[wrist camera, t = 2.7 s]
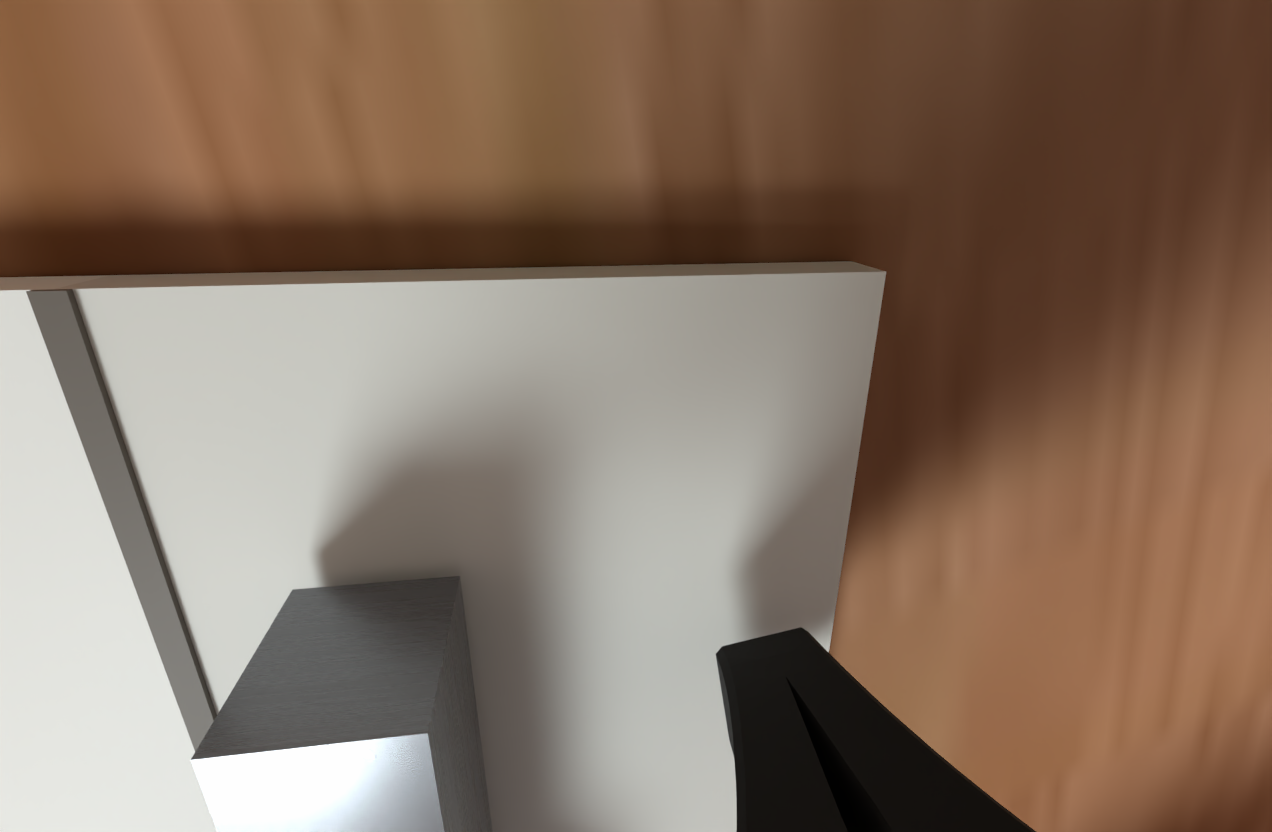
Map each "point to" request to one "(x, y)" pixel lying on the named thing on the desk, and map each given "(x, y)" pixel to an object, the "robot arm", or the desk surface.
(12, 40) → the desk surface
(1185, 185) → the desk surface
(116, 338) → the door board
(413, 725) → the bar
